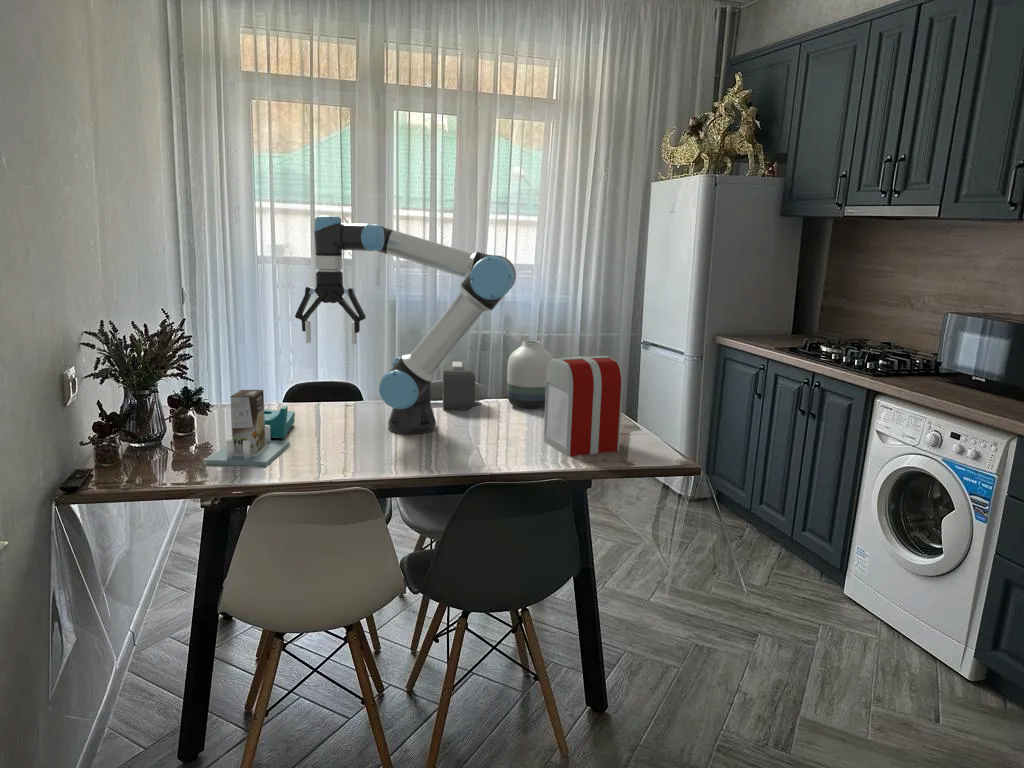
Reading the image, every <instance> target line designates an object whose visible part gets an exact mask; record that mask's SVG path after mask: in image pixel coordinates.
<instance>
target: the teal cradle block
mask: <svg viewBox="0 0 1024 768" xmlns="http://www.w3.org/2000/svg"><path fill="white" fill-rule="evenodd" d="M295 415H296V412H295V411H291V410H289V411H288V405H282V406H281V407H280V408H279V410H277V409H265V408H264V417H265V425H270V437H271V438H278V439H285V437H286V436H287V435H288V432H289V431H290V430H291V428H292V427H293V425H294V423H295V417H296V416H295Z"/></svg>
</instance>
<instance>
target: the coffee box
mask: <svg viewBox="0 0 1024 768" xmlns="http://www.w3.org/2000/svg"><path fill="white" fill-rule="evenodd" d="M264 398H265V397H264V389H241V390H239V391H237V392H235V393H234V394H232V395H230V398H229V399H230V412H231V415H230V416H231V417H230V418H231V432H232V434H231V435H232V440H233V442H234V454H243V440H250V452H251V454H257V453H258V452H259V451H260V450H261V449H262V448H263V447H264V446H265V445H266V440H265V417H264V409H265V399H264Z"/></svg>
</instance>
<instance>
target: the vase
mask: <svg viewBox="0 0 1024 768" xmlns="http://www.w3.org/2000/svg"><path fill="white" fill-rule="evenodd" d="M552 359H554V358H553V356H552V354H551V353H550V352H549V351H548V350H547V349H545V348H544V347H543V346H542V344H541V342H540V341H538V340H524V341H522V343H521V345H520V346H519V347H518V348H516V349H515V350H514V351H512V353H510V355H509V357H508V360H507V369H506V370H507V371H506V372H507V374H506V380H507V381H506V394H507V395H506V396H507V400H508V402H509V404H510V405H512V406H513V407H515V408H518V409H524V410H537V409H538V410H539V409H540V410H541V409H543V408H544V409H545V395H546V374H547V369H548V365H549V363H550V361H551V360H552Z"/></svg>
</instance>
